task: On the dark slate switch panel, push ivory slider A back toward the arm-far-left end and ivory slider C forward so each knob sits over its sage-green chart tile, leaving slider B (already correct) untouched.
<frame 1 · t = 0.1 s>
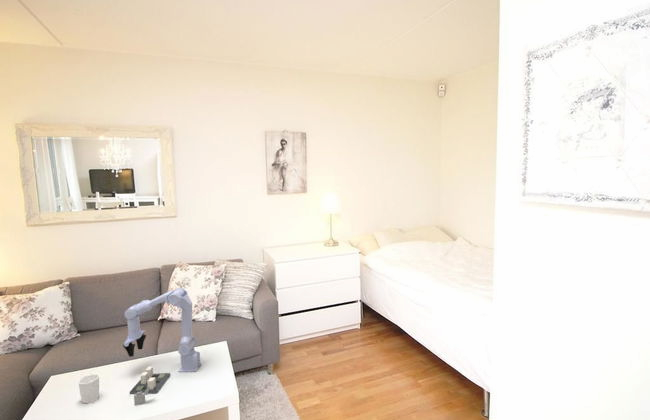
hand: (135, 352, 180), 10 cm above the table, fingers open, 7 cm apart
white cup: (90, 399, 158), on the table
switch a: (149, 372, 173), point 4 cm above the table, slide at 3.0 cm
switch c: (151, 383, 163), point 4 cm above the table, slide at -3.0 cm
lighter: (143, 402, 154), on the table
switch b: (144, 377, 168), point 4 cm above the table, slide at 3.0 cm
switch unit: (151, 384, 168), on the table
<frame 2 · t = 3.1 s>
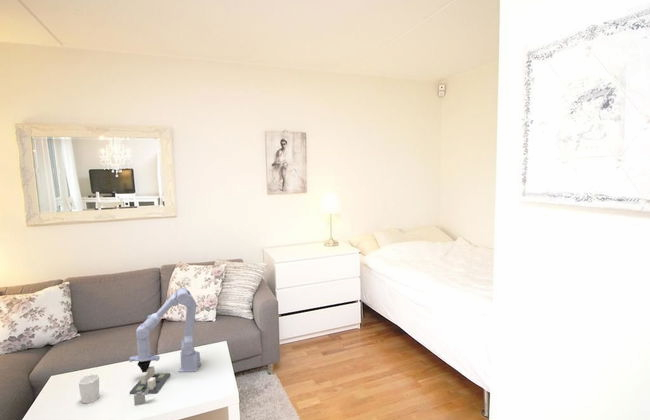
hand: (145, 373, 173), 3 cm above the table, fingers closed
switch a: (150, 372, 173), point 4 cm above the table, slide at 2.4 cm, touching gripper
everything else where it was.
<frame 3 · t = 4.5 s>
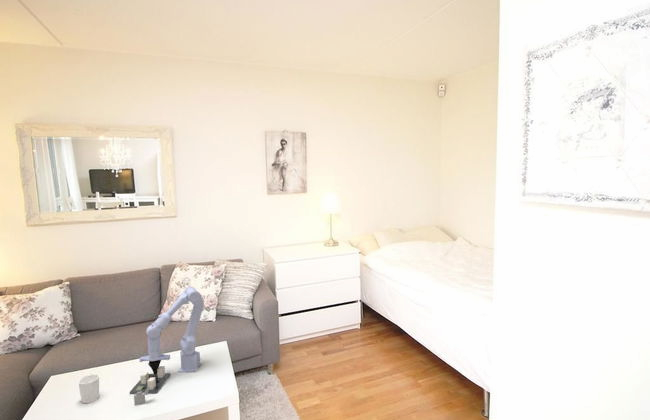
hand: (156, 373, 173), 3 cm above the table, fingers closed
switch a: (161, 371, 173), point 4 cm above the table, slide at -3.0 cm, touching gripper
everything else where it was.
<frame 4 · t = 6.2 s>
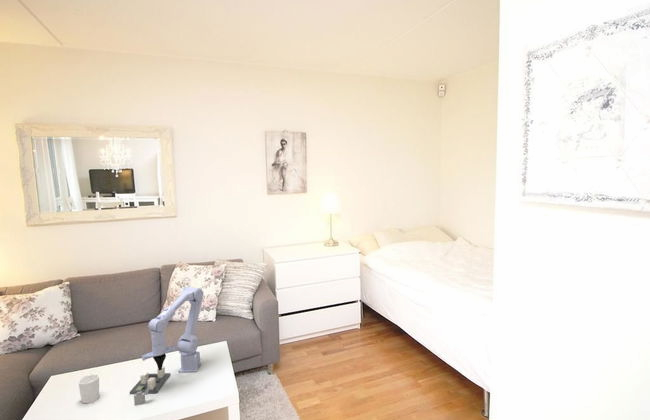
hand: (160, 369, 165), 9 cm above the table, fingers closed
switch a: (161, 371, 173), point 4 cm above the table, slide at -3.0 cm
everything else where it was.
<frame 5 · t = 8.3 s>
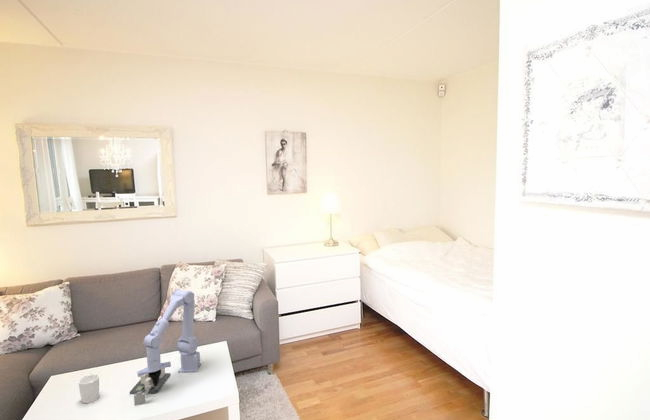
hand: (155, 385, 163), 3 cm above the table, fingers closed
switch c: (148, 383, 163), point 4 cm above the table, slide at -1.5 cm, touching gripper
everything else where it was.
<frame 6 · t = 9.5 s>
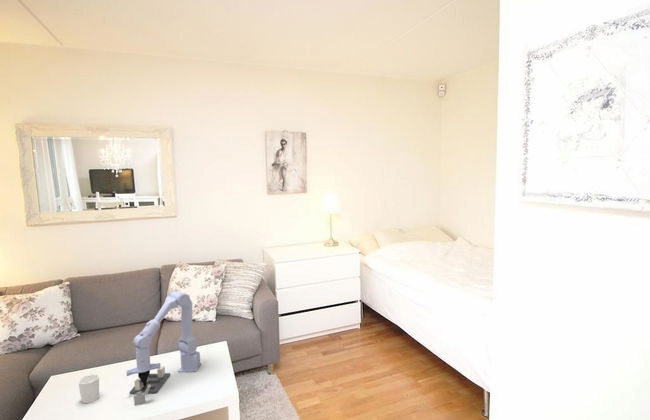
hand: (145, 385, 163), 3 cm above the table, fingers closed
switch c: (138, 383, 163), point 4 cm above the table, slide at 3.2 cm, touching gripper
everything else where it was.
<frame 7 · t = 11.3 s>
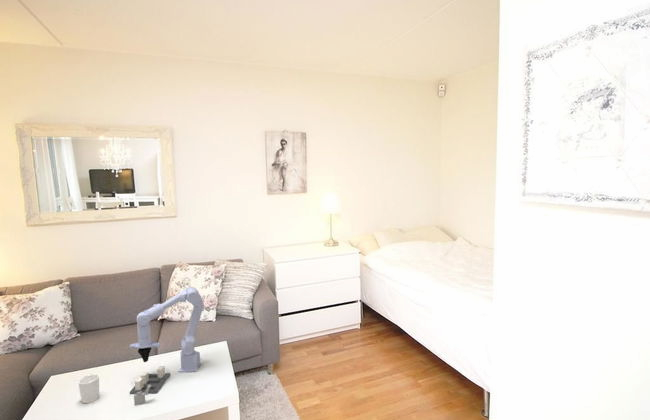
hand: (145, 361, 172), 10 cm above the table, fingers closed
switch c: (139, 383, 163), point 4 cm above the table, slide at 3.0 cm
everything else where it was.
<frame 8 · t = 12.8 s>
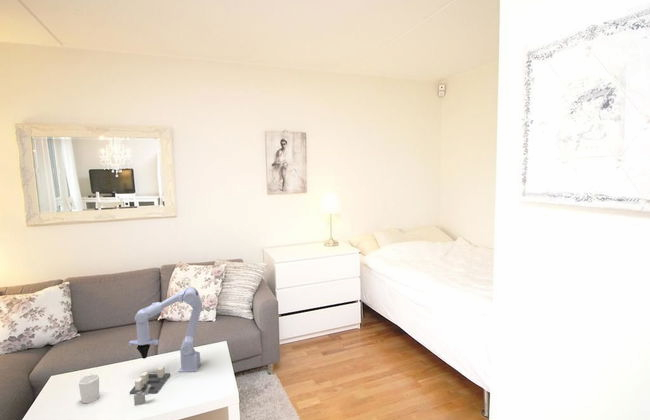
hand: (144, 357, 175), 10 cm above the table, fingers closed
nothing on the table moved.
at the end: switch a slide at -3.0 cm; switch c slide at 3.0 cm; switch b slide at 3.0 cm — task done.
